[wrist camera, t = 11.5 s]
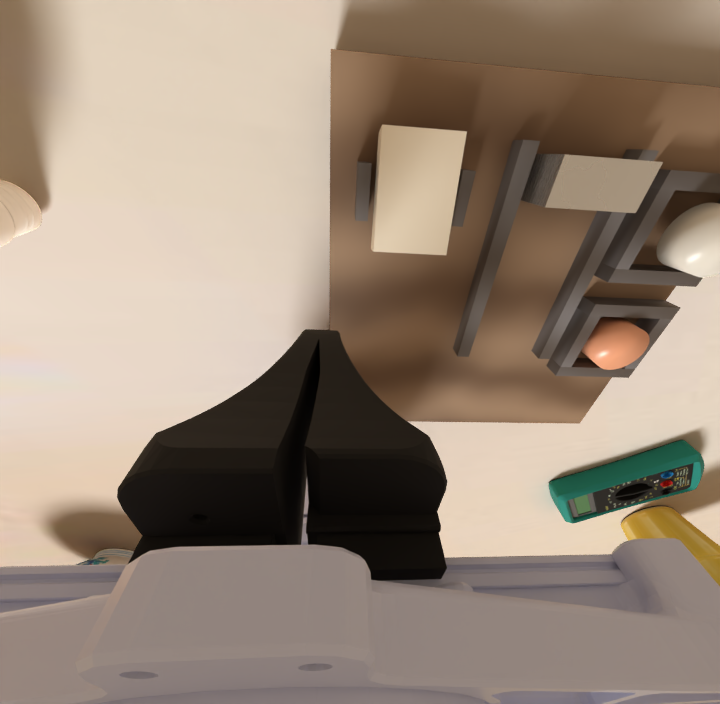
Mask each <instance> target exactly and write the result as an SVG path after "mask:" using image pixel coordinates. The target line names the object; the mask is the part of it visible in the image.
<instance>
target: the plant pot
mask: <svg viewBox="0 0 720 704" xmlns="http://www.w3.org/2000/svg"><path fill="white" fill-rule="evenodd" d="M621 527H622V529H623V531H624V533H625V535H626V537H627V539H628V541H630V540H633V539H650V538H676V539H678V540H680V541H681V542H682V543H683V544H684V545H685V546H686V548H687V549H688V550H689V551H690V552H691V553H692V555H693V556H694V557H695V558H696V559H697V560H698V562H699V563H700V564H701V565H702V566H703V567H704V569H705V570H706V571H707V572H708V573H709V574H710V576H711V577H712V578H713V579H714V580H715V581H716V583H717V584H718V585H719V586H720V546H719V545H718V544H716V543H715V542H714V541H712V540H711V539H710V538H709V537H707V536H706V535H705V534H704V533H702V532H701V531H700V530H699V529H697V528H696V527H695V526H694V525H692V524H691V523H690V522H688V521H687V520H686V519H685V518H684V517H682V516H681V515H680V514H679V513H677V512H676V511H675V510H674V509H672V508H670V507H666V506H657V507H650V508H647V509H643V510H640V511H638V512H635V513H633V514H631V515H630V516H628V517H627V518H625V519H624V520H623V521H622V523H621Z"/></svg>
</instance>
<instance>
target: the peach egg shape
mask: <svg viewBox="0 0 720 704" xmlns="http://www.w3.org/2000/svg"><path fill="white" fill-rule="evenodd" d="M648 345H649V335H648V334H647V332H645V331H644V330H642V329H640V328H639V327H637V326H636V325H634V324H632V323H631V322H629V321H627V320H626V319H624V318H622V317H603V318H600V319H599V321H598V323H597V324H596V326H595V328H594V330H593V331H592V333H591V335H590V336H589V338H588V340H587V342H586V343H585V345H584V347H583V348H582V350H581V352H582V353H584V354H585V355H586V356H587V357H588V358H589V359H591V360H592V361H593V362H594V363H595V364H596V365H598V366H599V367H600V368H602V369H606V370H614V369H619V368H622V367H624V366H627V365H629V364H631V363H632V362H634V361H635V360H637V359H638V358H639V357H640V356H641V355H642V354H643V353H644V352H645V350H646V349H647V347H648Z"/></svg>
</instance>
